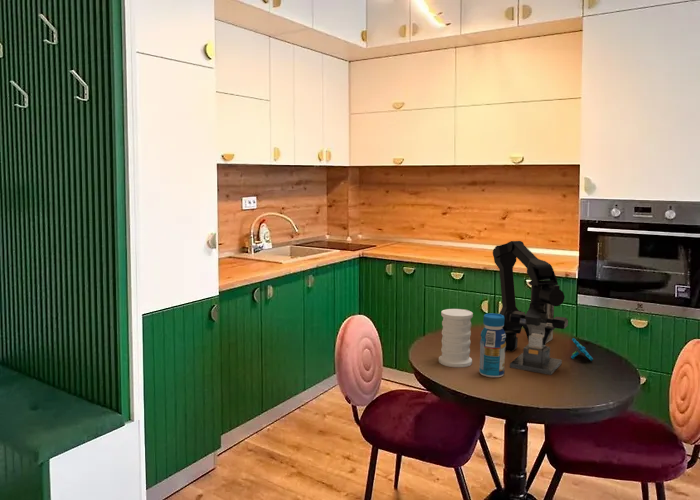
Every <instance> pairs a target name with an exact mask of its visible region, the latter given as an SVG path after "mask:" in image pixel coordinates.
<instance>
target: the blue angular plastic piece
mask: <svg viewBox="0 0 700 500" xmlns="http://www.w3.org/2000/svg"><path fill="white" fill-rule="evenodd" d="M571 341H572V342H573V343H574V344H575V345H576V350H575V351H574V352H573V353H572V354H571V356H570V358H571V359H572V360H574V359H575V358H576V357H577V356H578V355H582V353H583V354H584V355H585V357H587V359H589V360H590V361H593V360H594V358H593V357H592V356H591V355H590V353H589V352H588V351H587V350H586V347H585V346H583V345H582V344H581V343H580V342H579V341H577V339H576V338H574V337H573V338H571Z"/></svg>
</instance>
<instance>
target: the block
mask: <svg viewBox="0 0 700 500" xmlns="http://www.w3.org/2000/svg"><path fill="white" fill-rule="evenodd" d="M543 341H544V335H542V334H536V333H532V334H531V335H530V336H529V341H528V344H529V345H528V344H527V345H528V348H529V349H535V350H541V351H543V350H544V349H545V346H546V344H545V345H543Z"/></svg>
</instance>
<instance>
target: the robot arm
mask: <svg viewBox="0 0 700 500" xmlns="http://www.w3.org/2000/svg"><path fill="white" fill-rule="evenodd" d="M492 256H493V261H494V264H495V266H496V267H497V269H498V270H499V279H500V280H499V282H500V293H501V310H500V312H499V313H498V314H501V315H503V316H504V318H505V320H504V326H503V327H502V328H503V329H504V331H505V334H506V338H505V342H506V347H505V352H514V351H515V350H516V349H518V338H519V337H518V336H517V334H521V332H522V329H523V330H524V332H525V334H526V337H527V341H528V342H529V336H530V335H531V334H532V325H535V326H539V325H540V324H541V323H547V326H546V327H545V334H544V341H543V345H545V346H546V345H547V343H546V342H547V340H548V337H549V335H550V333H551V331H552V330H553V331H554V330H555V329H561V330H565V328H567V327H568V326H569V320H568V318H567V317H565V316H554V319H551V318H548V314H547V312H548V304H550V305H553V306H554V307H559V306H561V305H562V304H563V303H564V301H565V299H566V298H565V293H564V292H563V290H562V289H561V288H560V287H561V286H560V285H559V283H558V277H557V276H556V273H555V271H554V268H553V266H552V265H551V264H550V262H547V261H546V260H543V259H540V258H538V257H537V256H536V255H535V254H534V253H533V252H532V251H531V250H530V249H529V248H528V247H527V246H526V245H525V244H524V242H523V241H522V240H510V241H508V242H507V243H503V244H501V245H495V247H494V248H493V250H492ZM517 260H519V261H520V262H521V263H522V265H524V267H525V268H526V273H527V275H528V277H529V278H530V281H529V282H528V285H530V286H531V287H530V288H531V289H530V303H529V307H528V309H527V311H526V312H525V311H522V310H519V309H518V307H517V303H516V294H515V293H516V292H515V281H514V279H515V278H514V267H515V264H516V262H517Z"/></svg>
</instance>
